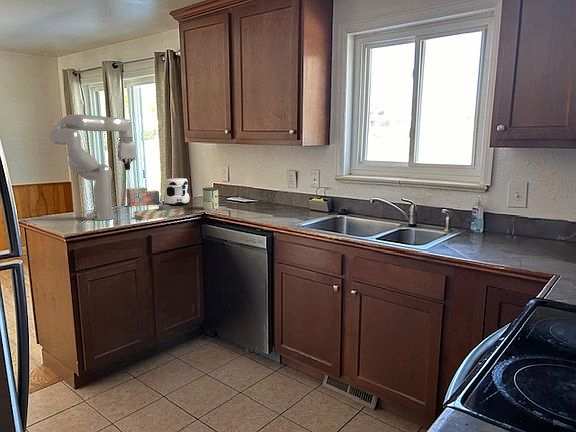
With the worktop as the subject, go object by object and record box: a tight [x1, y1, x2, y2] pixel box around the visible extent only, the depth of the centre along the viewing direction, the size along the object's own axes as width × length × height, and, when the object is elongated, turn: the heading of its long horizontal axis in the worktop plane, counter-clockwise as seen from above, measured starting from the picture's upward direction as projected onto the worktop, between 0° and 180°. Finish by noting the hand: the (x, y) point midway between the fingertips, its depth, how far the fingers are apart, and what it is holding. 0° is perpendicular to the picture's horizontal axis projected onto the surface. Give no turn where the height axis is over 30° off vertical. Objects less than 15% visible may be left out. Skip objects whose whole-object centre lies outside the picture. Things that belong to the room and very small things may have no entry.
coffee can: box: [202, 186, 220, 211], centre depth 291 cm, size 10×10×14 cm
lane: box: [133, 205, 185, 221], centre depth 265 cm, size 28×10×4 cm, turn 136°
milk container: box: [163, 177, 190, 206], centre depth 310 cm, size 17×17×18 cm
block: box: [158, 204, 171, 211], centre depth 267 cm, size 5×5×4 cm
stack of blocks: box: [125, 187, 160, 208], centre depth 307 cm, size 21×6×12 cm, turn 133°
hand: (127, 169), depth 272 cm, fingers closed
